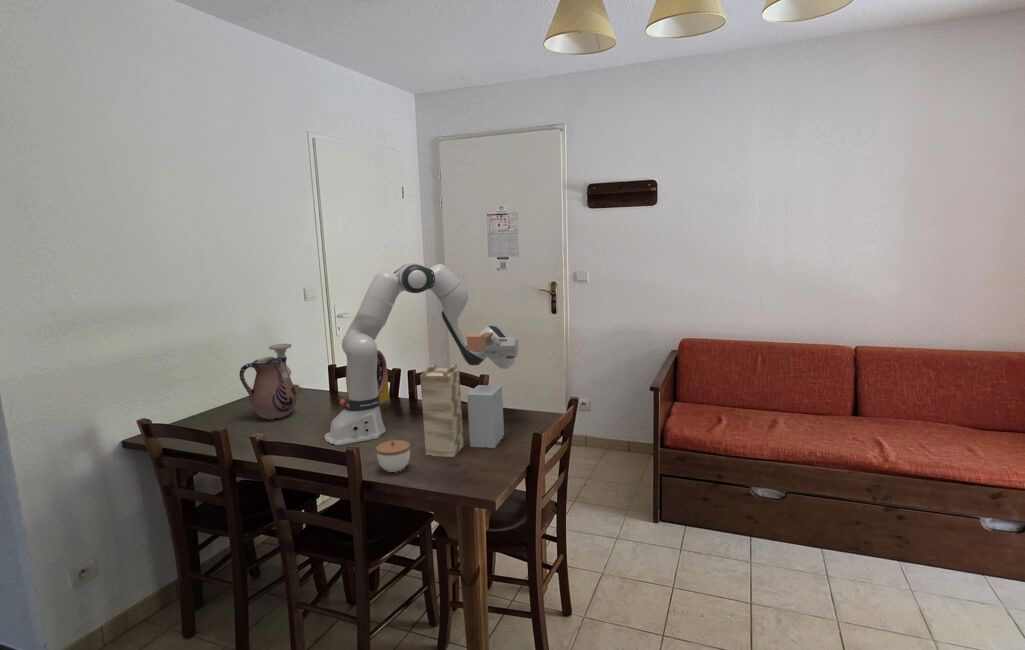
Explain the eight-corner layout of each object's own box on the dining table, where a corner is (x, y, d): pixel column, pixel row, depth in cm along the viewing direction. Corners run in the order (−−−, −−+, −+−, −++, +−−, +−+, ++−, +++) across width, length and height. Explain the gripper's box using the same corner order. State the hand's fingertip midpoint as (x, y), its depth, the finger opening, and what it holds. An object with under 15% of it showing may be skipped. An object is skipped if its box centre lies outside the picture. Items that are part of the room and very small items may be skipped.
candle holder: (301, 390, 293) (296, 343, 289) (289, 397, 282) (284, 348, 279) (281, 390, 295) (276, 343, 291) (268, 396, 285) (263, 348, 281)
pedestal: (480, 434, 220) (478, 385, 216) (504, 436, 217) (501, 385, 214) (470, 446, 208) (467, 394, 205) (494, 448, 206) (492, 395, 203)
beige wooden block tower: (437, 444, 211) (431, 364, 207) (463, 446, 209) (458, 364, 204) (425, 455, 202) (419, 371, 197) (453, 457, 199) (448, 371, 194)
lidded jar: (380, 463, 197) (377, 436, 195) (412, 461, 198) (410, 434, 196) (375, 477, 186) (373, 448, 185) (410, 474, 187) (408, 446, 185)
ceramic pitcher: (306, 414, 254) (300, 357, 250) (258, 428, 238) (251, 367, 234) (284, 407, 265) (278, 353, 261) (238, 420, 249) (230, 362, 245)
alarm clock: (367, 412, 253) (361, 351, 249) (348, 411, 256) (342, 351, 251) (390, 398, 273) (385, 342, 269) (372, 397, 276) (367, 341, 271)
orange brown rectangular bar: (483, 340, 220) (482, 327, 219) (495, 340, 219) (495, 327, 218) (467, 350, 203) (466, 336, 203) (481, 351, 202) (480, 336, 201)
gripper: (471, 341, 231) (459, 329, 219) (522, 341, 226) (513, 329, 213) (469, 356, 229) (457, 345, 217) (520, 357, 224) (511, 346, 211)
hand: (485, 337), depth 215 cm, fingers closed on orange brown rectangular bar, 3 cm apart
